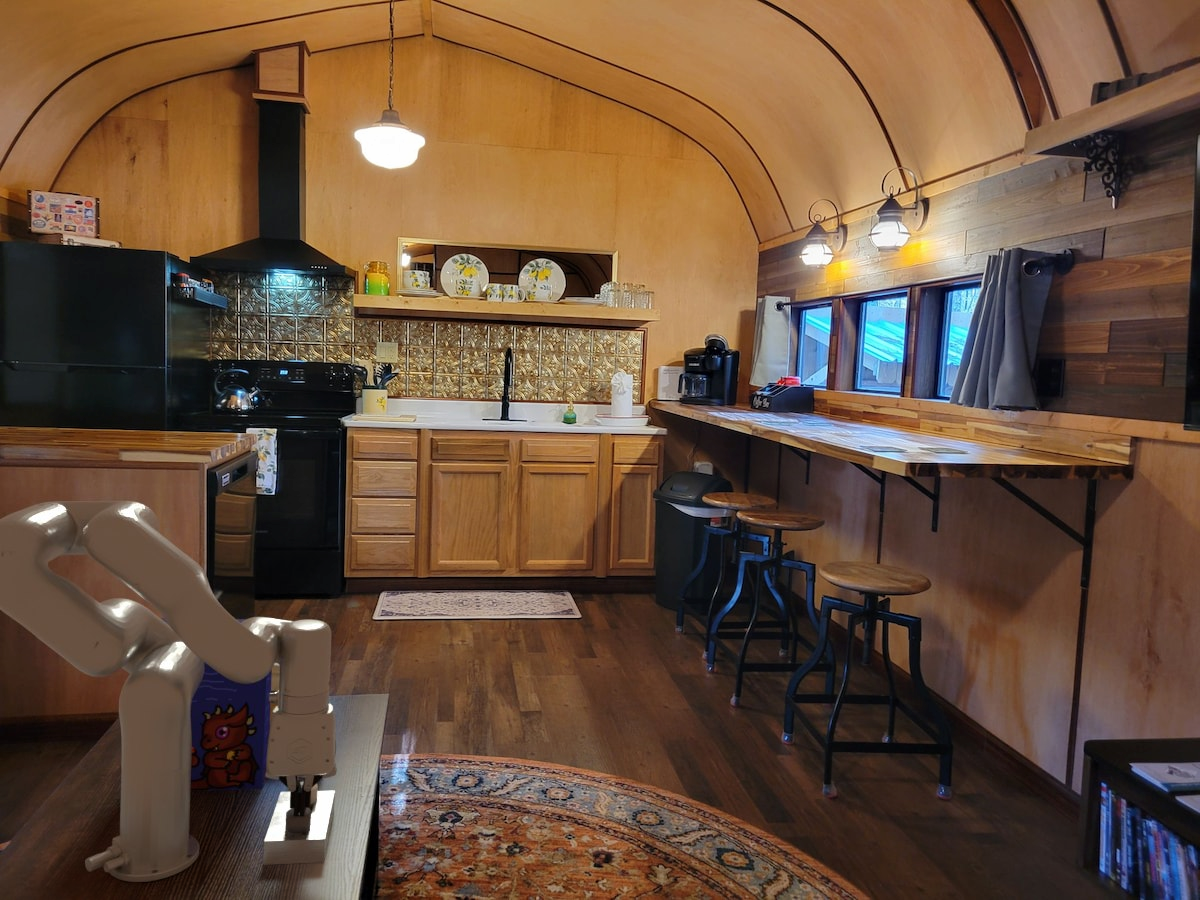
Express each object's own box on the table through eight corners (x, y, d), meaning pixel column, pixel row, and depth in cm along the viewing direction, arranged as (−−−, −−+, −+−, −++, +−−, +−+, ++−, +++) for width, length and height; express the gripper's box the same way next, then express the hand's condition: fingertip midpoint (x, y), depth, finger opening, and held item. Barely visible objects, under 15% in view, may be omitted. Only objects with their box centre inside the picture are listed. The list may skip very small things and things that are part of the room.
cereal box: (267, 773, 164) (273, 618, 162) (261, 788, 158) (268, 627, 156) (142, 776, 160) (146, 616, 157) (131, 792, 154) (136, 626, 152)
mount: (323, 862, 137) (324, 839, 136) (263, 864, 135) (264, 841, 134) (334, 811, 152) (334, 790, 152) (279, 813, 150) (280, 791, 150)
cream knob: (314, 828, 146) (316, 790, 146) (290, 828, 146) (292, 791, 145) (317, 816, 150) (318, 780, 150) (294, 817, 149) (295, 780, 149)
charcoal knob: (307, 857, 138) (309, 817, 137) (282, 858, 137) (284, 818, 136) (310, 844, 141) (312, 805, 141) (286, 845, 141) (288, 806, 140)
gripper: (249, 709, 132) (245, 826, 133) (351, 708, 135) (346, 821, 136) (258, 691, 139) (254, 802, 141) (355, 690, 142) (350, 798, 144)
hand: (300, 811), depth 139 cm, fingers closed
